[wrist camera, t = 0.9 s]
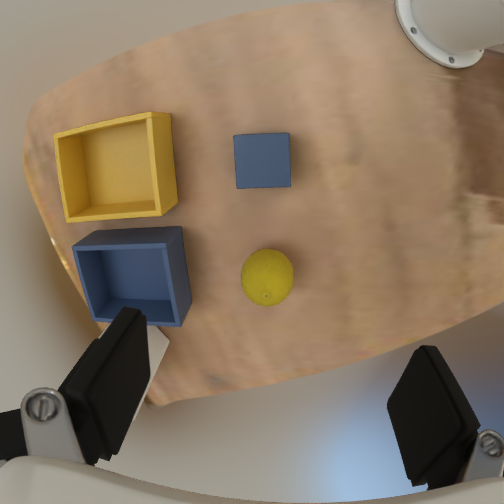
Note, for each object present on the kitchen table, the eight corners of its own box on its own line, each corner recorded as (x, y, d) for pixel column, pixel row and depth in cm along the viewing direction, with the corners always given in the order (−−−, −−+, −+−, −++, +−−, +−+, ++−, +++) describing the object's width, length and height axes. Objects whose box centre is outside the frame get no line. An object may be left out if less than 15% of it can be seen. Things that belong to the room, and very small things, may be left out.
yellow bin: (80, 131, 32) (53, 134, 27) (170, 113, 31) (151, 111, 26) (90, 209, 36) (66, 223, 31) (178, 202, 35) (161, 216, 29)
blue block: (239, 134, 31) (233, 135, 27) (287, 132, 31) (289, 133, 26) (242, 180, 33) (236, 188, 29) (288, 178, 33) (291, 187, 28)
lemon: (237, 269, 37) (227, 305, 30) (258, 230, 35) (253, 258, 28) (278, 289, 38) (277, 328, 30) (301, 252, 36) (306, 285, 28)
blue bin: (94, 230, 37) (71, 246, 32) (181, 226, 36) (165, 243, 31) (111, 299, 41) (93, 321, 35) (192, 302, 40) (181, 327, 34)
